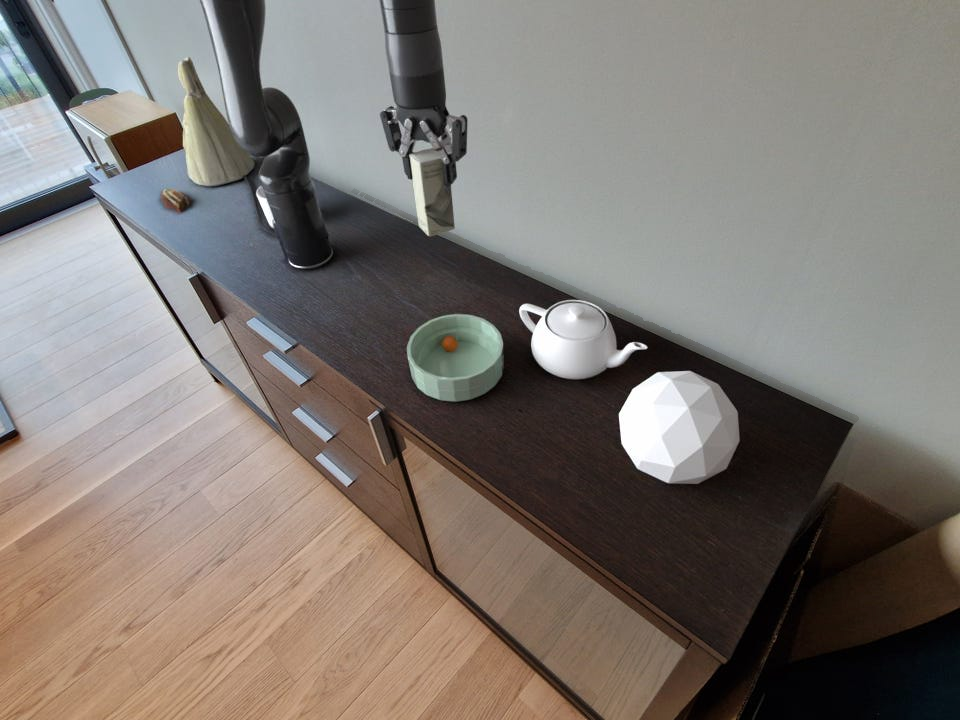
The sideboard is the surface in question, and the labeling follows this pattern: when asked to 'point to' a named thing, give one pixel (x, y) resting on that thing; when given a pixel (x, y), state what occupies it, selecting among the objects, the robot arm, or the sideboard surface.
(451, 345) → the ball
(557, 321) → the teapot
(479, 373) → the bowl
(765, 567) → the sideboard surface
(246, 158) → the sculpture
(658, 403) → the geometric shape
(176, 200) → the brown striped bar
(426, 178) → the box
